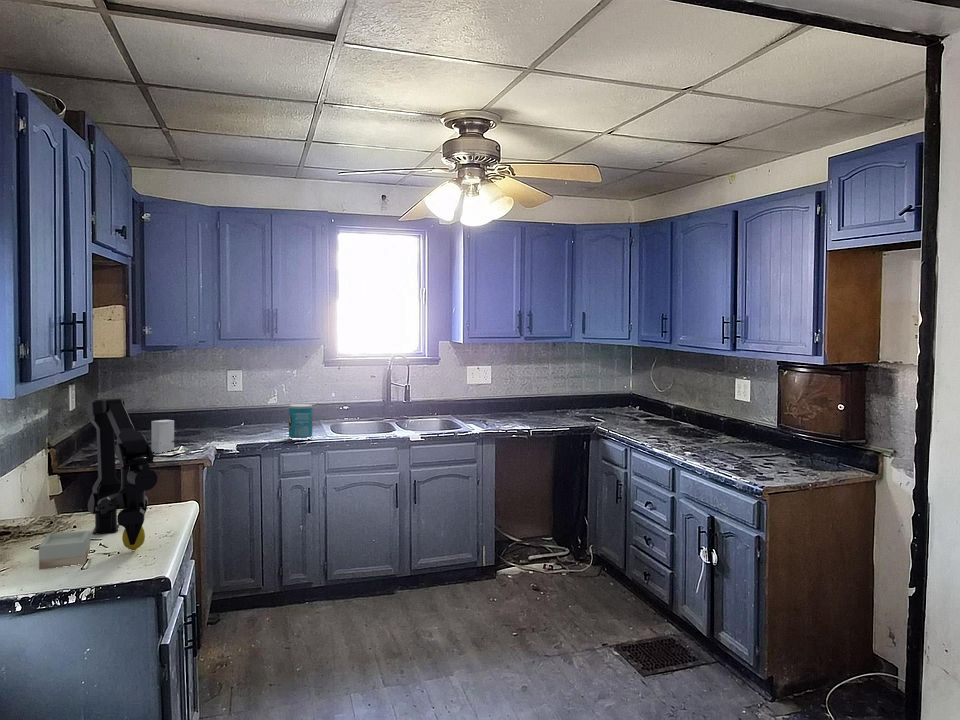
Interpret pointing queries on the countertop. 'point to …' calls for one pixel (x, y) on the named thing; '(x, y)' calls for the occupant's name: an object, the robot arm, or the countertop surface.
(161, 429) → the skincare box
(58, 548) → the dish block
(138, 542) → the lemon
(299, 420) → the food can
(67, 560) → the base block
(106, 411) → the robot arm
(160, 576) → the countertop surface
